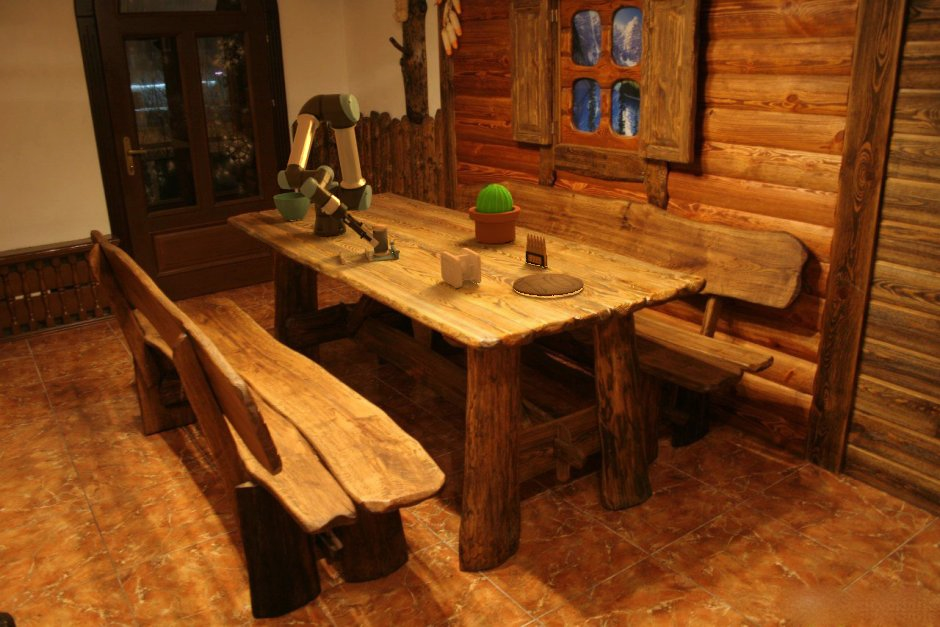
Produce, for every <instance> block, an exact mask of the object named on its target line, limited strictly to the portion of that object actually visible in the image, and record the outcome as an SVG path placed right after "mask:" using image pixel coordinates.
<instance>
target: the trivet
mask: <svg viewBox="0 0 940 627" xmlns="http://www.w3.org/2000/svg"><path fill="white" fill-rule="evenodd" d="M512 286H513V287H512V288H514V289H515V290H516V291H518V292H520V293H524V294H529V295H537V296H552V295H553V296H554V295H563V294H568V293H573V292H575V291H578V290H580V289H581V288H583V286H584V287H585V283H584V281H583V280H582V279H581V278H579V277H576V276H574V275H569V274H565V273H535V274H530V275H525V276H522V277H519V278H517V279H516V280H514V282H513V283H512ZM514 289H513V290H514ZM583 289H584V288H583Z"/></svg>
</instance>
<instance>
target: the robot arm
mask: <svg viewBox="0 0 940 627" xmlns="http://www.w3.org/2000/svg"><path fill="white" fill-rule="evenodd" d="M360 113H361V112H360V105H359V102H358V100H357V98H356V97H355V96H354V95H353V94H351V93H327V94H322V93H319V94H316V95H314V96H312V97H310V98H309V99H307V100H306V102H304V104H303V105H302V106H301V108H300V109H299V111H298V114H297V117H296V123H297V127H296V132H295V135H294V140H293V143H292V146H291V150H290V155H289V159H288V162H287V167H286V169H285V170H280V171H279V172H278V174H277V183H278V185H279V188H280V189H283V190H299V191H300V192H301V193H302V194H303V195H305V196H306V198H308V199H309V200H310V202H312V203H313V204H314V211H315V212H314V214H315V220H314V225H313V230H312V231H313V235H314V236H316V235H317V237H333V236H332V235H337V236H340V235H339V234H341V235H344V234H346V233H347V226H348V227H349V228H350V229H351V230H353V231H354V232H355V233H356V234H357V235H358V236H359V239H360V240H362V239H363V240H364V241H366V242H367V243H368V244H369V245H371V247H373V249H374V248H375V247H376V246H377V245H378V243H379V242H378V241H376V240H375V239H374V238H373V232H371V231H370V230H369V229H368V228H366V227H365V226H364V225H363V224H364V223H363V222H360V221H358V220H357V219H356V218H355V217H353V215H351V214H350V213H349V212H361V211H367V210H369V208H370V206H371V203H372V198H373V197H372V196H373V195H372V194H373V189H372V187H371V185H369V184H367V181H366V179H365V178H364V177H363V176H362V170H361V164H360V156H359V151H358V145H357V139H356V132H355V127H356V126H357V124H358V123H357V122H358V121H359V120H360V116H361V114H360ZM321 123H329V128H330V129H332V130H333V131H334V136H335V141H336V147H337V148H336V149H337V154H338V158H339V165H340V171H341V175H342V176H341V177H342V181H341V182H340V184H339V182H338V181H333V180H334V177H335V173H334V170H333V169H332V168H331V166H328V165H320V166H319V167H318V168H316V169H314V170H313V169H312V170H311V169H310V170H309V169H306V168H307V165H308V164H307V163H308V160H309V156H310V153H311V149H312V145H313V141H314V137H315V133H316V130H317V129H318V128H319V127H320V124H321ZM346 225H347V226H346ZM345 232H346V233H345ZM343 233H344V234H343Z"/></svg>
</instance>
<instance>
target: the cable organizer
mask: <svg viewBox="0 0 940 627" xmlns="http://www.w3.org/2000/svg"><path fill="white" fill-rule="evenodd" d="M439 256H440V270H441V271H440V272H441V273H440V274H441V278H442V280H443V281H444V282H445V281H446V282H445V283H447V284H448V283H449V284H448V285H451V286H452V287H453V286H454V287H453V288H455V289H459V288H461V287H462V286H463V284H464V281H465V280H468V279H469V280H468V281H469V282H472V283H473V282H474V283H476V284H475V285H478V284H480V283H481V282H482V264H481V263H482V262H481V260H482V259H481V256H480V254H479V253H477V252H476V251H473V250H472V249H470V248H467V247H462V248H460V254H459V255H458V254H457V255H454V254H452V253H451V252H449V251H446V250H445V251H441V252H440V255H439ZM474 283H473V284H474ZM477 283H478V284H477Z"/></svg>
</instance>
